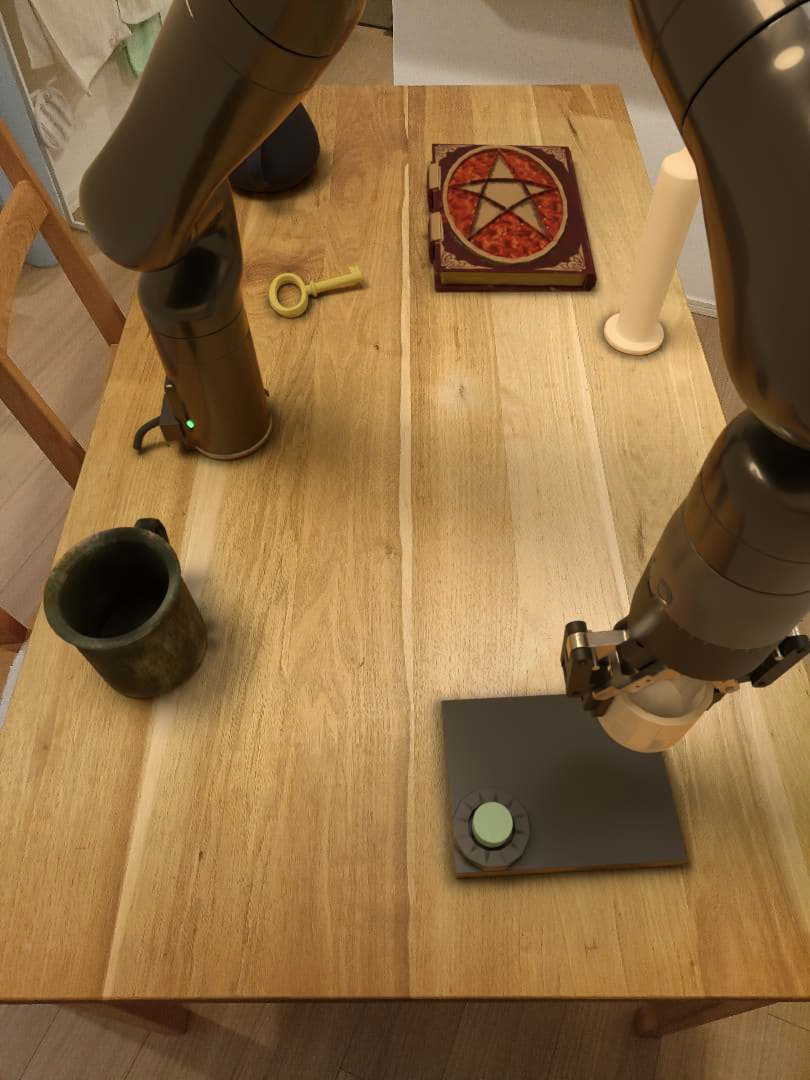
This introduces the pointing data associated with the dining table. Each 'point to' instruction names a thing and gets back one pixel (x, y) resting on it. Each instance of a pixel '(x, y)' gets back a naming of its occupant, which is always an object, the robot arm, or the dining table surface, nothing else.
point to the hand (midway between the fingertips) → (644, 700)
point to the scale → (553, 790)
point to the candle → (656, 257)
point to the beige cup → (657, 713)
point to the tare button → (492, 824)
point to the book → (507, 219)
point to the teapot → (280, 156)
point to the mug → (127, 609)
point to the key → (308, 289)
